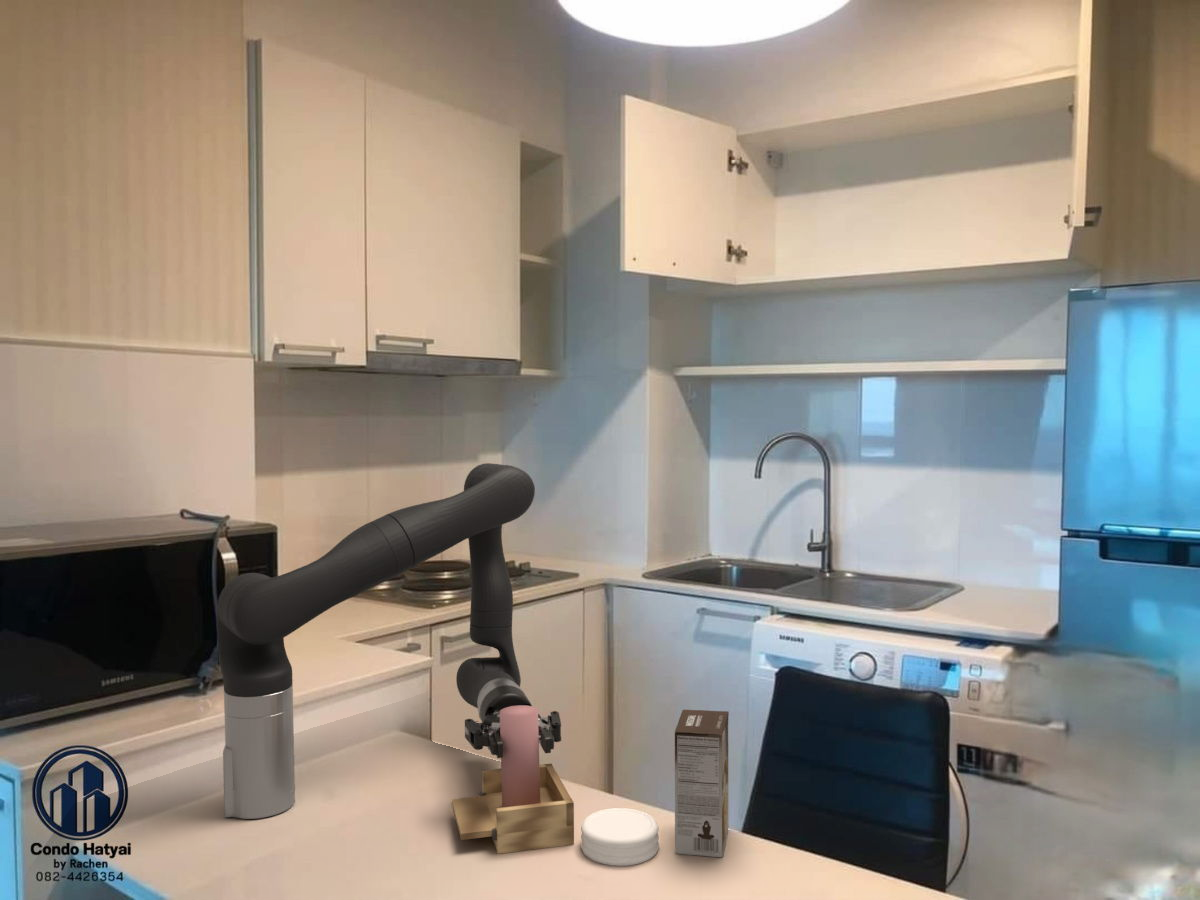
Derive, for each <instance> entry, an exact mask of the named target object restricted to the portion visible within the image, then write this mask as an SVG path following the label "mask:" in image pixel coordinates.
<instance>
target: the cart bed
mask: <svg viewBox="0 0 1200 900" xmlns="http://www.w3.org/2000/svg"><path fill="white" fill-rule="evenodd" d="M539 767H540V803H539V804H530V805H522V806H513V807H505V808H502V776H501V768H497V769H496V768H495V769H487V770H482V771H481V772H482V773H481V774H482V776H481V778H482V780H481V781H482V783H481V784H482V791H481V792H479V795H477V796H470V797H459V798H454V799H453V798H452V799H451V808H452V812H453V815H454V819H455V821H456V822H455V823H456V827H457V829H458V834H459V839H460V841H464V840H472V839H480V838H488V837H491V840H492V841H493V844H494V847H495V849H496V853H497V854H498V855H499V854H509V853H516V852H525V851H530V850H532V851H533V850H538V849H539V850H540V849H547V848H554V847H562V846H569V845H575V807H574V806H575V804H574V803H575V802H574V801H573V798H572V797H571V795H570V793H569V791H568V790H567V788H566V786H565V785H564V783H563V781H562V780H561V778H560V776H559V774H558V772H557V771H556V769H555V768H554V765H553V764H552V763H543V764H539Z"/></svg>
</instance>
